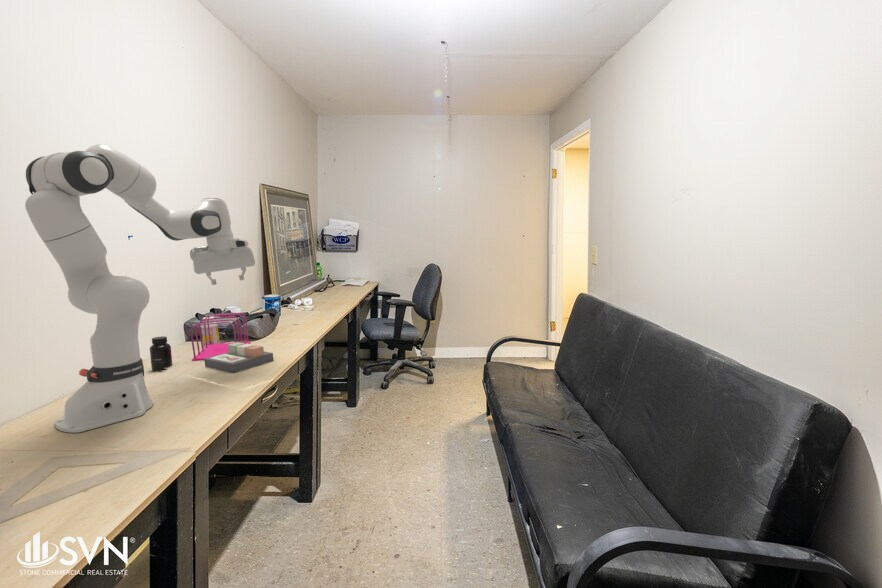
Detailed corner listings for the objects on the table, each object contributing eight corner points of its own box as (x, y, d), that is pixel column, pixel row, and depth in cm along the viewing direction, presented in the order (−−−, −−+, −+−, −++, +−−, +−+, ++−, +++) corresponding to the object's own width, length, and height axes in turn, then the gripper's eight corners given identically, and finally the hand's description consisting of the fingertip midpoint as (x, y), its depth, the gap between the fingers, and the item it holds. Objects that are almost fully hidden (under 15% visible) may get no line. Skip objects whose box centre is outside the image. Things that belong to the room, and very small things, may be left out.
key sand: (244, 358, 175) (243, 347, 174) (237, 356, 177) (236, 346, 176) (254, 355, 178) (254, 344, 178) (247, 353, 181) (246, 343, 180)
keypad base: (233, 375, 164) (232, 363, 163) (205, 369, 173) (204, 357, 172) (273, 363, 178) (272, 351, 178) (245, 357, 187) (244, 346, 186)
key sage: (235, 356, 177) (234, 346, 177) (228, 354, 180) (227, 344, 179) (245, 353, 181) (244, 343, 181) (238, 352, 184) (237, 342, 183)
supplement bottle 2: (214, 342, 214) (212, 315, 212) (222, 344, 210) (219, 316, 209) (200, 346, 209) (197, 318, 207) (208, 348, 205) (205, 319, 203)
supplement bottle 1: (153, 372, 170) (150, 340, 169) (150, 369, 176) (146, 337, 174) (175, 368, 175) (171, 337, 173) (170, 365, 180) (167, 334, 178)
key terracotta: (254, 359, 172) (253, 349, 171) (246, 358, 174) (245, 347, 173) (264, 356, 175) (263, 346, 175) (256, 355, 178) (255, 345, 177)
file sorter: (192, 364, 181) (187, 324, 179) (209, 348, 205) (205, 313, 203) (239, 359, 185) (236, 321, 183) (250, 344, 209) (247, 310, 207)
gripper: (189, 248, 159) (197, 288, 161) (252, 240, 169) (258, 278, 172) (187, 247, 164) (195, 286, 167) (249, 240, 174) (255, 276, 177)
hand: (228, 282), depth 169 cm, fingers open, 8 cm apart
